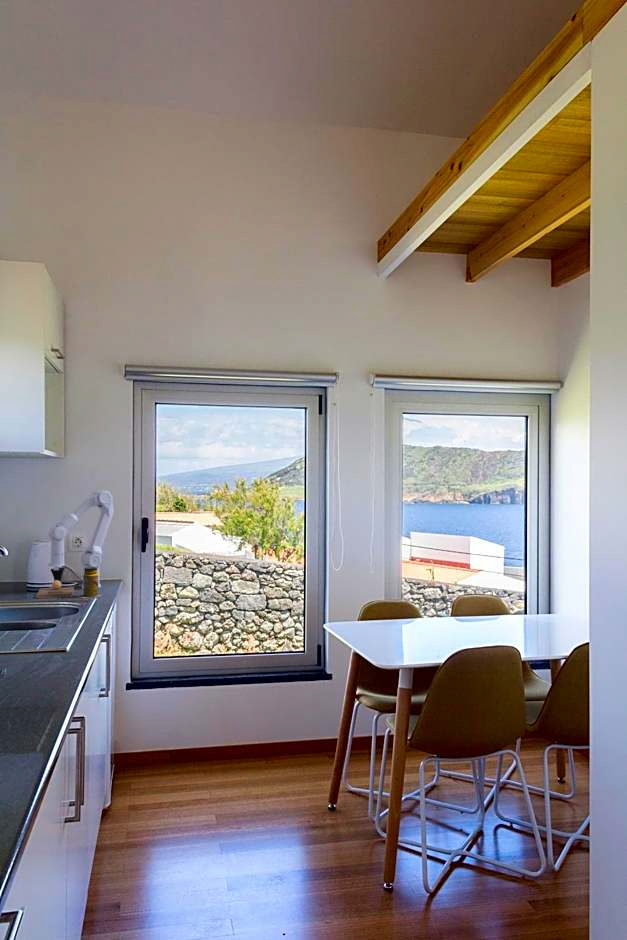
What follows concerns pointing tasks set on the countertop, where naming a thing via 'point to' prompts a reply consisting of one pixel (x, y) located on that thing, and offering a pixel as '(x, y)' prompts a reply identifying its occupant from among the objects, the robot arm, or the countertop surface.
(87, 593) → the condiment
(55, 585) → the ball
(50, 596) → the deck
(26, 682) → the countertop surface
